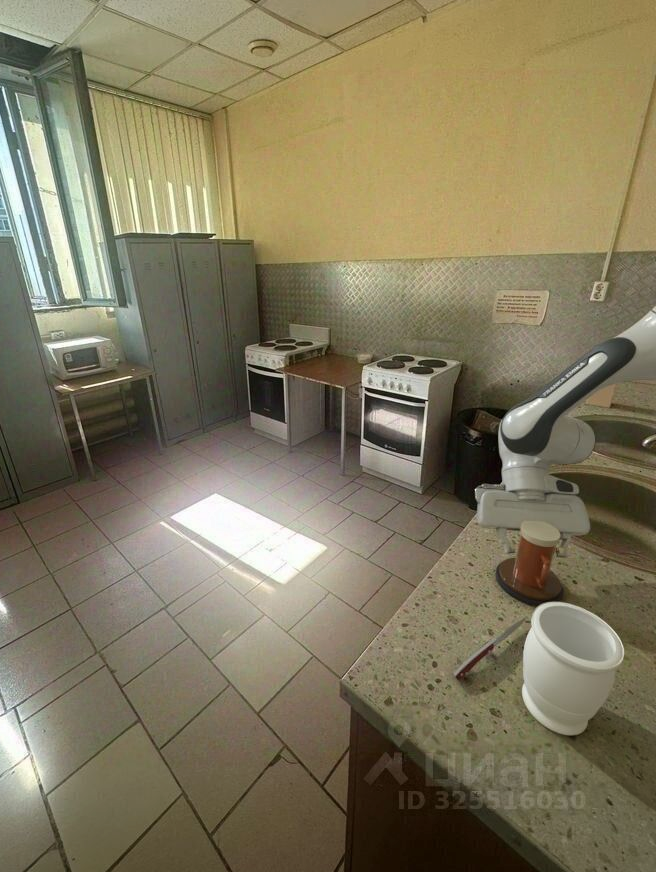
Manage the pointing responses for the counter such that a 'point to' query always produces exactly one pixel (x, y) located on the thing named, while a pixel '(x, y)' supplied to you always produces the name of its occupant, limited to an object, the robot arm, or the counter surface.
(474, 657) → the knife
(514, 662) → the counter surface
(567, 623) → the jar
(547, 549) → the coffee mug with lid
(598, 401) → the soap dispenser
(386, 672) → the counter surface
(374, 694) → the counter surface
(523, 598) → the base
